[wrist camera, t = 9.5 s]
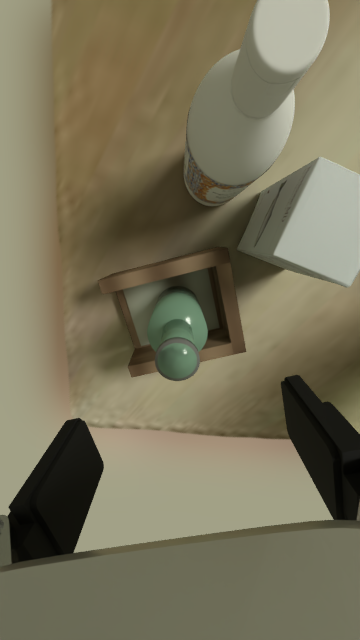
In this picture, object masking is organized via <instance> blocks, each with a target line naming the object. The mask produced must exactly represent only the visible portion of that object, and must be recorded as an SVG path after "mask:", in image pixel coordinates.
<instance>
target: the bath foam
mask: <svg viewBox="0 0 360 640" xmlns="http://www.w3.org/2000/svg"><path fill="white" fill-rule="evenodd" d="M329 18H330V14H329V4H328V0H257V2H256V4H255V6H254V9H253V11H252V14H251V17H250V20H249V23H248V27H247V30H246V33H245V36H244V39H243V42H242V45H241V48H240V49H239V50H236V51H234V52H232V53H230V54H228V55H226V56H225V57H223V58H222V59H221V60H219V61H218V62H217V63H216V64H215V65H214V66H213V67H212V68H211V69H210V70H209V72H208V73H207V74H206V75H205V77H204V78H203V80H202V81H201V83H200V85H199V87H198V89H197V91H196V93H195V95H194V98H193V101H192V104H191V107H190V110H189V114H188V120H187V131H186V144H185V157H184V181H185V185H186V187H187V190H188V191H189V193H190V195H191V196H192V197H193V198H194V199H195V200H196V201H198V202H199V203H201V204H203V205H206V206H219V205H223V204H225V203H227V202H229V201H230V200H231V199H233V198H234V197H235V196H237V195H238V194H239V193H240V192H242V191H243V190H244V189H245V188H246V187H248V186H249V185H250V184H251V183H253V182H254V181H255V180H256V179H258V178H259V177H260V176H261V175H263V174H264V173H265V172H266V171H267V170H268V169H269V168H270V167H271V166H272V164H273V163H274V162H275V160H276V159H277V157H278V156H279V154H280V153H281V151H282V149H283V147H284V145H285V143H286V141H287V139H288V136H289V134H290V131H291V127H292V123H293V118H294V108H295V96H294V88H295V86H296V85H297V84H298V82H299V81H300V80H301V78H302V77H303V76H304V74H305V73H306V72H307V70H308V69H309V68H310V66H311V65H312V64H313V62H314V61H315V60H316V58H317V56H318V55H319V53H320V51H321V49H322V47H323V45H324V42H325V39H326V36H327V33H328V28H329Z"/></svg>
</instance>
